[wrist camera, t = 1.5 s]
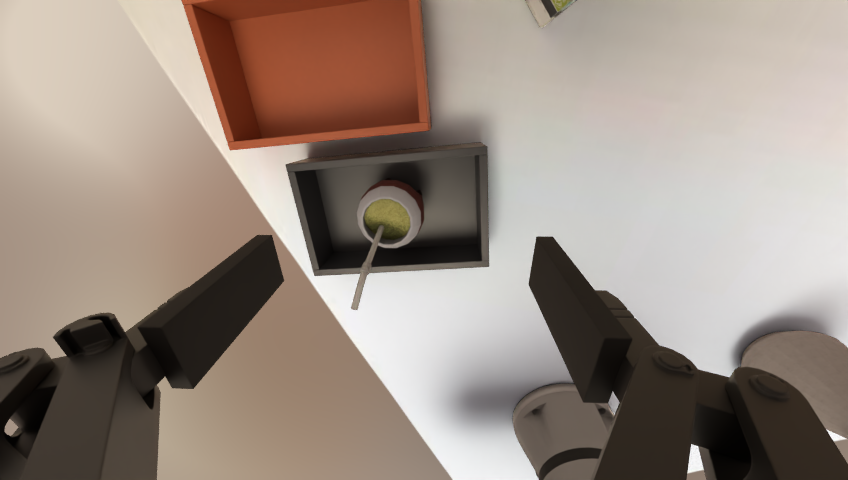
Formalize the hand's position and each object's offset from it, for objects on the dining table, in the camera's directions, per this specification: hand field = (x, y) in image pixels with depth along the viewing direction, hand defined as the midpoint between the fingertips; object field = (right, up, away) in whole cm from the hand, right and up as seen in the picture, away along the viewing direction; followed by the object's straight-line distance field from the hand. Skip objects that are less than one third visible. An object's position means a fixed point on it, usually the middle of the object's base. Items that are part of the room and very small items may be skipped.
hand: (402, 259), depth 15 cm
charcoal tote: (-2, +5, +22) cm, 23 cm away
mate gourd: (-2, +5, +22) cm, 23 cm away
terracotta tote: (-9, +19, +17) cm, 27 cm away
